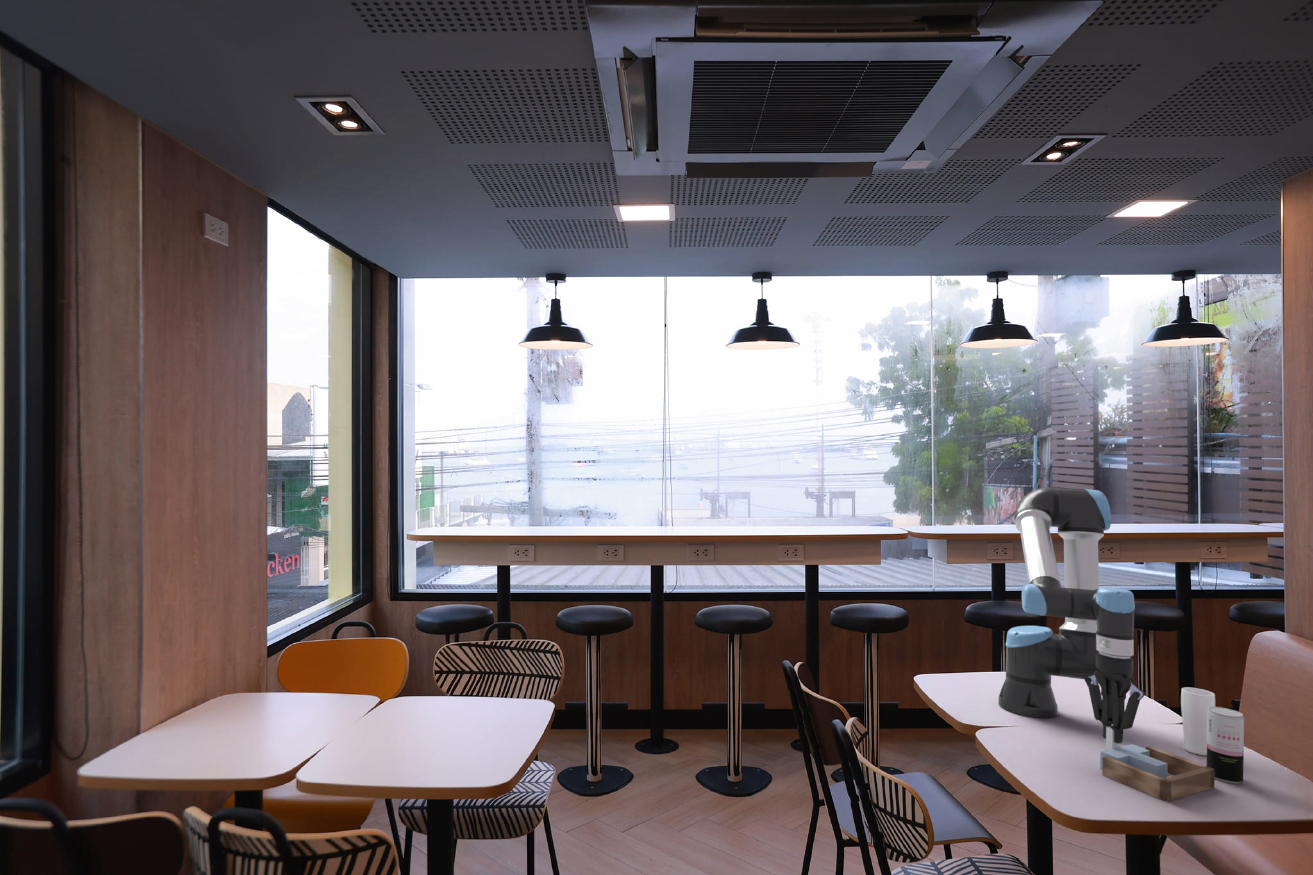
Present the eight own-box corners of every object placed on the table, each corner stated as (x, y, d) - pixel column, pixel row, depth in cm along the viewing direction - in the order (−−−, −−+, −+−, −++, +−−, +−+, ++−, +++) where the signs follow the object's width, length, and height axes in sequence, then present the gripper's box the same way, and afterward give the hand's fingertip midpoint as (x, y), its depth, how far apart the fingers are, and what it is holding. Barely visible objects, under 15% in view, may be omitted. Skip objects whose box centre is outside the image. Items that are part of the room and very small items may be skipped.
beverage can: (1205, 768, 165) (1206, 704, 166) (1241, 776, 161) (1242, 710, 162) (1207, 778, 160) (1208, 711, 160) (1244, 786, 156) (1245, 718, 156)
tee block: (1100, 768, 163) (1100, 751, 163) (1131, 760, 168) (1131, 744, 168) (1145, 787, 154) (1146, 768, 154) (1177, 778, 159) (1177, 760, 159)
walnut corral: (1102, 774, 159) (1102, 757, 159) (1149, 762, 167) (1149, 745, 167) (1167, 801, 147) (1167, 782, 147) (1214, 787, 155) (1214, 769, 155)
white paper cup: (1220, 759, 171) (1221, 697, 172) (1189, 755, 172) (1190, 694, 173) (1205, 748, 178) (1205, 688, 178) (1174, 745, 179) (1175, 685, 180)
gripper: (1077, 648, 171) (1075, 746, 170) (1133, 663, 159) (1131, 768, 158) (1097, 646, 174) (1095, 742, 173) (1152, 660, 162) (1151, 763, 162)
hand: (1112, 754), depth 166 cm, fingers closed
